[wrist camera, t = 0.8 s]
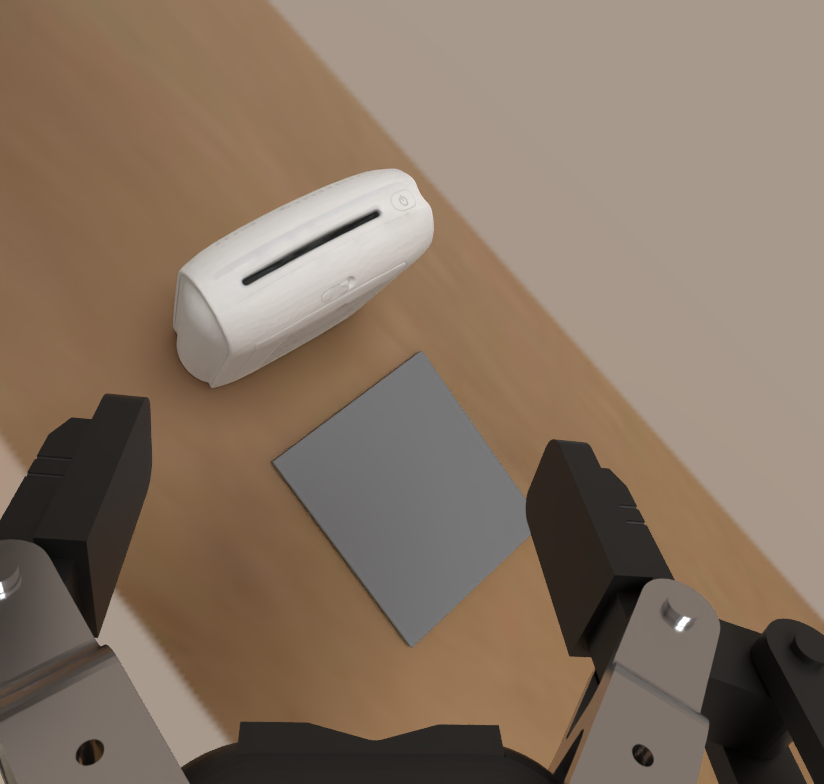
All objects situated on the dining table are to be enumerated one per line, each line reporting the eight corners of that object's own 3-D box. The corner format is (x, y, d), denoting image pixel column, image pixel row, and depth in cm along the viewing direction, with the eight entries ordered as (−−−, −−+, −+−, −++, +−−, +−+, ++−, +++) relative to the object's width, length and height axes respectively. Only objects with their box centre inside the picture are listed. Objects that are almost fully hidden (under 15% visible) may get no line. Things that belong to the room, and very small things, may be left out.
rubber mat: (271, 462, 33) (272, 461, 33) (417, 352, 37) (421, 350, 36) (407, 645, 34) (411, 647, 34) (536, 522, 38) (542, 523, 37)
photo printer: (333, 237, 36) (412, 125, 24) (374, 306, 36) (471, 227, 25) (157, 327, 32) (153, 245, 21) (205, 402, 32) (227, 363, 21)
